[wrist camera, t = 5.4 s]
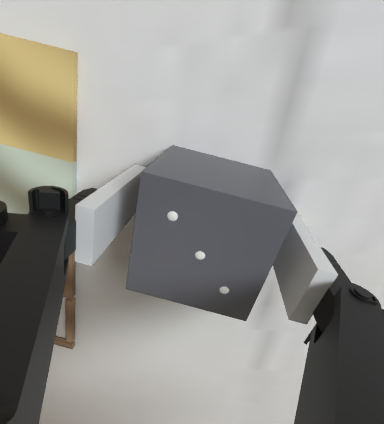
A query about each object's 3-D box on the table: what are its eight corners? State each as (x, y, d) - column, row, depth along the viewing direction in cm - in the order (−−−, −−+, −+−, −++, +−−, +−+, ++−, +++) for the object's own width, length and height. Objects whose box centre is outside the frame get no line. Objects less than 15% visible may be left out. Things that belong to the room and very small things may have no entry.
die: (239, 250, 17) (245, 322, 11) (156, 228, 17) (124, 289, 12) (270, 170, 14) (297, 212, 9) (172, 144, 14) (139, 171, 9)
